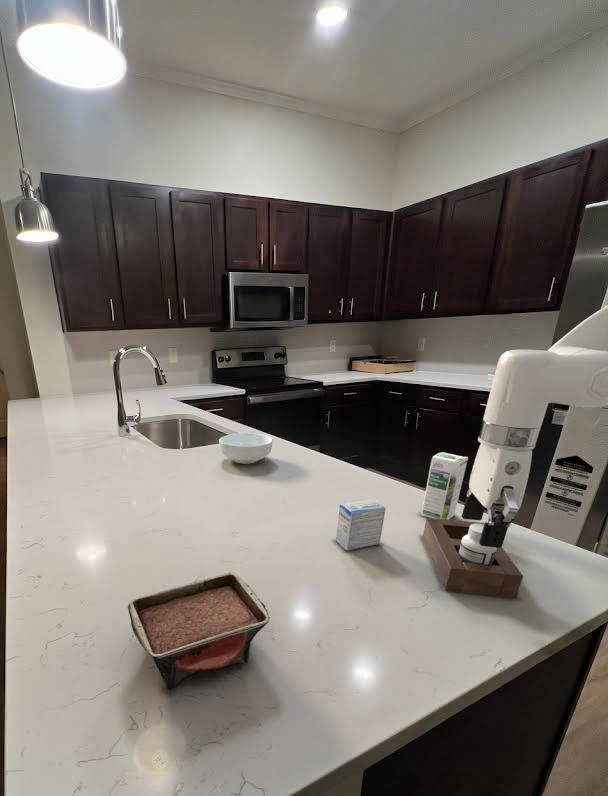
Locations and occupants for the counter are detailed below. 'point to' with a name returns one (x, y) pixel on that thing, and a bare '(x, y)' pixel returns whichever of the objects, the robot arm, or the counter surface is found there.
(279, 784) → the counter surface
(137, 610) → the baking dish
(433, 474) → the syrup box
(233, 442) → the cereal bowl
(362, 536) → the medicine box
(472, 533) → the pill bottle
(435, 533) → the holder
